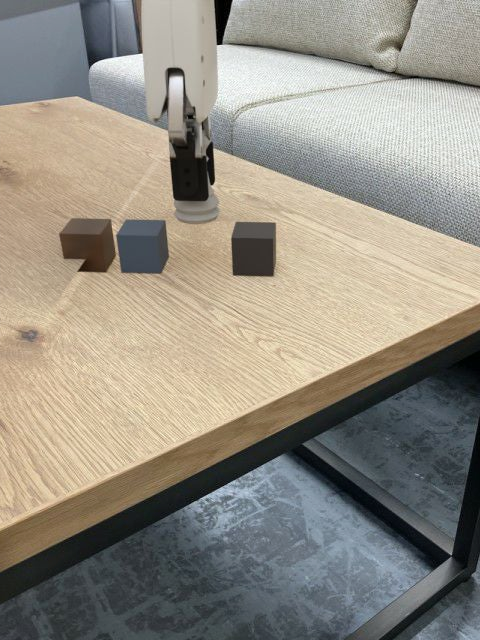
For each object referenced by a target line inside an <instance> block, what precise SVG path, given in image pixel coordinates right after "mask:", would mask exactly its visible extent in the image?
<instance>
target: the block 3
mask: <svg viewBox="0 0 480 640" xmlns="http://www.w3.org/2000/svg"><path fill="white" fill-rule="evenodd" d="M234 223H235V224H234V226H233V229H232V233H231V237H230V243H231V265H232V266H231V267H232V276H233V277H236V276H237V277H238V276H239V277H274V276H275V269H276V262H277V222H272V221H271V222H269V221H268V222H267V221H235V222H234Z"/></svg>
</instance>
